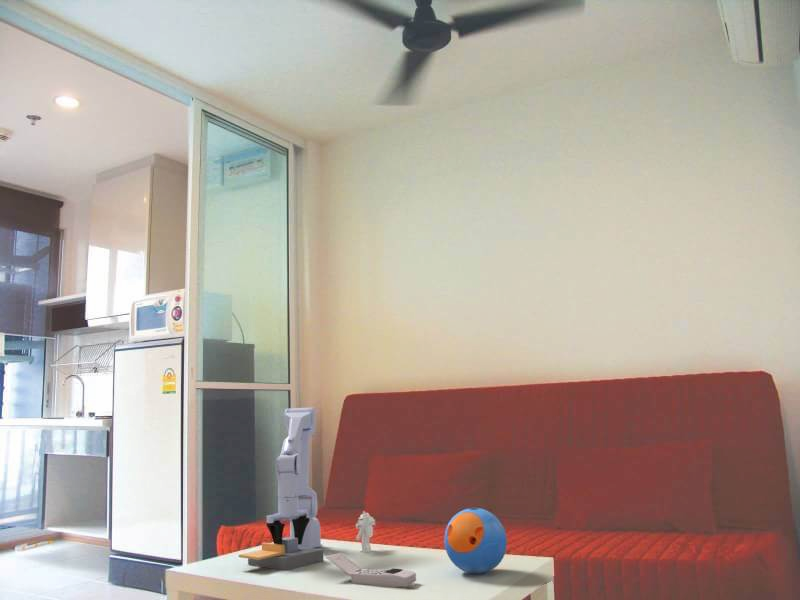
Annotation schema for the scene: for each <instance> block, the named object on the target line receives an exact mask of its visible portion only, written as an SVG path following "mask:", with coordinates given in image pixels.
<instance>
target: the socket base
mask: <svg viewBox="0 0 800 600" xmlns="http://www.w3.org/2000/svg"><path fill="white" fill-rule="evenodd" d="M320 562H324V549H321V548H305V547H298V551H297V552H293V553H289V554H287V553H285V554H283V555H278V556H274V557H270V558H265V559H261V560H255V559H248V558H247V565H248V564H249V565H250V566H255V565H258V566H257V567H261V566H264V567H263V568H268V567H270V568H269V569H275V570H284V571H288V570H293V569H296V567H297V568H300V567H305V566H308V565H312V564H315V563H320Z"/></svg>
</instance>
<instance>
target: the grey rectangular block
mask: <svg viewBox="0 0 800 600" xmlns="http://www.w3.org/2000/svg"><path fill="white" fill-rule="evenodd" d="M282 545H285V553H287V554H289V553H293V552H297V551H298V538H293V537H290V536H285V537H282Z"/></svg>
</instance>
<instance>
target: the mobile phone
mask: <svg viewBox="0 0 800 600" xmlns="http://www.w3.org/2000/svg"><path fill="white" fill-rule="evenodd" d="M325 557H326V559H327V560H328V561H330V562H331V563H332V564H333V565H335V566H336V567H337V568H338V569H340V570H341V571H342V572H344V573H345V574H347V575H348V576H349V577H350V580H351V583H352V584H356V585H357V584H359V585H367V586H378V587H387V588H411V589H412V588H413V589H414V588H417V585H416V582H417V573H416V572H415V571H412V570H408V569H403V568H394V567H392V568H390V569H382V568H381V569H380V568H379V569H378V568H376V569H375V568H361V567H359V565H357V564H356V563H355V562H353V561H352V560H351V559H349V558H348V557H347V556H346V555H345V554H344V553H341V552H338V553H334V554H331V555H328V556H325Z"/></svg>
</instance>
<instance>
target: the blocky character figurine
mask: <svg viewBox="0 0 800 600" xmlns="http://www.w3.org/2000/svg"><path fill="white" fill-rule="evenodd" d="M373 526H374V527H375V526H376V519H374V517H372V515H370V514H369V512H366V511H364V510H363V512H362V514H360V516H359V517H358V520H357V522H356V523H355V528H356V529H357V530H359V531H358V534H357V536H356V537H355V540H356V542H359V541H360V539H361V549H359V553H368V552H369V551H372V547H371V543H370V538H372V537H373V536H374V534H373V533H374V527H373Z"/></svg>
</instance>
